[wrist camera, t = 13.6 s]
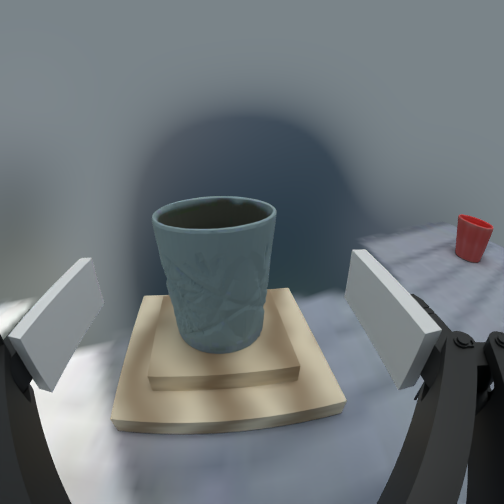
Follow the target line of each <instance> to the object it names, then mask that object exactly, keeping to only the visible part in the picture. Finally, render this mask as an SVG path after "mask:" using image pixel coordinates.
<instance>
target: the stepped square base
mask: <svg viewBox="0 0 504 504" xmlns="http://www.w3.org/2000/svg"><path fill="white" fill-rule="evenodd" d="M263 308H264V311H265V312H264V320H263V328H262V331H261V333H260V337H258V338H257V340H256V341H255V342H253V343H252V344H251V345H250V346H248V347H246V348H244V349H242V350H239V351H236V352H232V353H225V354H213V353H206V352H202V351H199V350H197V349H195V348H193V347H191V346H190V345H188V344H187V343H186V342H185V341H184V340H183V338H182V337H181V335H180V333H179V330H178V326H177V322H176V317H175V314H174V308H173V305H172V302H171V298H170V296H169V295H158V296H144V298H143V301H142V304H141V307H140V310H139V313H138V316H137V319H136V323H135V326H134V329H133V332H132V335H131V339H130V342H129V346H128V349H127V353H126V356H125V360H124V364H123V367H122V371H121V375H120V379H119V383H118V387H117V391H116V395H115V400H114V404H113V409H112V413H111V418H110V419H111V421H112V422H113V424H114V425H115V427H116V428H117V430H118V431H127V432H139V433H156V434H208V433H225V432H238V431H248V430H256V429H264V428H271V427H278V426H284V425H290V424H295V423H300V422H305V421H310V420H315V419H319V418H324V417H328V416H332V415H336V414H340V413H342V411H343V408H344V406H345V404H346V401H347V400H346V398H345V396H344V394H343V392H342V390H341V388H340V386H339V384H338V382H337V380H336V379H335V377H334V375H333V373H332V371H331V369H330V367H329V365H328V363H327V361H326V359H325V357H324V355H323V353H322V351H321V349H320V347H319V345H318V344H317V342H316V340H315V338H314V336H313V334H312V332H311V330H310V328H309V326H308V324H307V322H306V320H305V319H304V317H303V315H302V313H301V311H300V309H299V307H298V305H297V303H296V301H295V300H294V298H293V296H292V294H291V292H290V290H289V288H281V289H268V290H267V295H266V302H265V304H264V306H263Z"/></svg>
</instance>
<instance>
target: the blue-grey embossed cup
mask: <svg viewBox="0 0 504 504" xmlns="http://www.w3.org/2000/svg"><path fill="white" fill-rule="evenodd" d="M275 220H276V209H275V208H274V207H273V206H271V205H270V204H268V203H266V202H263V201H260V200H255V199H250V198H243V197H232V196H213V197H200V198H193V199H188V200H183V201H178V202H174V203H171V204H168V205H166V206H164V207H162V208H160V209H158V210H157V211H156V212H155V213H154V214H153V216H152V223H153V228H154V233H155V237H156V241H157V245H158V247H159V254H160V258H161V263H162V266H163V268H164V271H165V275H166V276H167V282H166V283H167V288H168V291H169V296H170V298H171V302H172V305H173V308H174V314H175V317H176V322H177V326H178V330H179V333H180V335H181V337H182V338H183V340H184V341H185V342H186V343H187V344H188V345H190V346H191V347H193V348H195V349H197V350H199V351H202V352H206V353H213V354H225V353H232V352H236V351H239V350H242V349H244V348H246V347H248V346H250V345H251V344H252V343H253V342H255V341H256V340H257V338H258V337H260V333H261V331H262V328H263V320H264V312H265V311H264V308H263V306H264V304H265V302H266V295H267V286H268V279H269V275H268V274H269V268H270V255H271V250H272V242H273V236H274V228H275Z"/></svg>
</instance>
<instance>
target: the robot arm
mask: <svg viewBox="0 0 504 504" xmlns="http://www.w3.org/2000/svg"><path fill="white" fill-rule="evenodd" d="M345 299H346V301H347V302H348V304H349V305H350V307H351V309H352V310H353V312H354V314H355V315H356V317H357V319H358V320H359V322H360V323H361V325H362V327H363V329H364V330H365V332H366V334H367V335H368V337H369V339H370V340H371V342H372V344H373V346H374V347H375V349H376V351H377V352H378V354H379V356H380V358H381V360H382V361H383V363H384V365H385V367H386V368H387V370H388V372H389V374H390V376H391V377H392V379H393V381H394V383H395V385H396V387H397V389H398V390H401V389H404V388H408V387H411V386H414V385H415V383H416V382H417V380H418V378H419V376H420V375H421V376H422V378H423V379H424V383H423V385H422V386H421V388H420V390H419V391H418V393H417V395H416V396H415V398H414V400H417V398H418V401H417V404H416V408H415V411H414V415H413V418H412V421H411V424H410V427H409V430H408V433H407V436H406V439H405V441H404V444H403V447H402V449H401V452H400V454H399V457H398V459H397V462H396V464H395V467H394V469H393V471H392V473H391V476H390V478H389V480H388V482H387V484H386V486H385V488H384V490H383V492H382V494H381V496H380V498H379V500H378V502H377V504H457V501H458V498H459V495H460V491H461V488H462V484H463V480H464V477H465V472H466V468H467V464H468V485H467V501H466V504H504V333H502V332H497V331H496V332H492V333H490V335H489V337H488V339H487V341H486V342H475V341H474V340H473V338H472V337H470V336H469V335H468V334H466V333H463V332H460V331H454V332H452V331H451V330H450V329H449V328H448V327H447V326H446V325H445V323H444V322H443V321H442V320H441V319H440V318H439V317H438V316H437V315H436V314H434V311H433V310H432V309H431V308H429V306H428V305H427V304H426V303H425V302H424V301H423V300H422V299H421V298H419V297H417V296H416V295H414V294H409V293H408V292H407V291H406V290H405V289H404V287H403V286H402V285H401V284H400V283H399V282H398V281H397V280H396V279H395V278H394V277H393V276H392V275H391V274H390V273H389V272H388V271H387V270H386V269H385V268H384V267H383V266H382V265H381V264H380V263H379V262H378V261H377V260H376V259H375V258H374V257H373V256H372V255H371V254H370V253H369V252H368V251H367V250H352V255H351V261H350V269H349V274H348V280H347V286H346V292H345ZM103 305H104V300H103V297H102V293H101V290H100V286H99V283H98V279H97V275H96V271H95V267H94V263H93V259H92V258H80V259H79V260H78V261H77V262H76V263H75V264H74V265H73V266H72V267H71V268H70V269H69V270H68V271H67V272H66V273H65V274H64V275H63V276H62V277H61V278H60V279H59V280H58V281H57V282H56V283H55V284H54V285H53V286H52V287H51V288H50V289H49V290H48V291H47V292H46V293H45V294H44V295H43V296H42V297H41V299H40V300H39V301H38V302H37V303H36V304H35V305H34V306H33V307H32V308H31V309H29V311H28V312H27V313H26V314H25V315H24V317H22V319H21V320H20V321H19V323H17V324H16V326H15V327H14V328H13V329H12V330H11V332H10V333H9V334H8V335H7V336H6V338H5V339H4V340H3V339H2V337H1V335H0V504H71V502H70V500H69V498H68V496H67V494H66V491H65V489H64V487H63V485H62V482H61V480H60V478H59V475H58V473H57V470H56V468H55V465H54V463H53V460H52V457H51V454H50V451H49V448H48V445H47V442H46V439H45V436H44V432H43V429H42V425H41V422H40V418H39V414H38V409H37V405H36V401H35V396H34V391H33V388H32V386H31V385H30V382H31V380H32V379H33V380H34V381H35V383H36V384H37V386H38V387H39V389H42V390H46V391H49V392H53V390H54V388H55V386H56V384H57V382H58V380H59V378H60V377H61V375H62V373H63V371H64V369H65V367H66V366H67V364H68V362H69V360H70V359H71V357H72V355H73V353H74V352H75V350H76V348H77V346H78V345H79V343H80V341H81V340H82V338H83V336H84V335H85V333H86V332H87V330H88V328H89V327H90V325H91V323H92V322H93V320H94V318H95V317H96V315H97V314H98V312H99V311H100V309H101V308H102V306H103ZM493 381H494V389H493V390H492V391H491V388H490V385H491V384H492V382H493Z"/></svg>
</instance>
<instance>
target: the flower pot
mask: <svg viewBox="0 0 504 504" xmlns="http://www.w3.org/2000/svg"><path fill="white" fill-rule="evenodd" d="M492 231H493V226H492V225H490V224H489V223H487V222H485V221H483V220H480V219H477V218H475V217H471V216H468V215H459V216H458V227H457V238H456V250H455V252H456V254H457V255H458V256H459V257H460V258H462V259H464V260H467V261H469V262H473V263H477V262H479V261H480V259H481V257H482V255H483V253H484V251H485V249H486V246H487V244H488V241H489V239H490V237H491V234H492Z"/></svg>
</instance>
